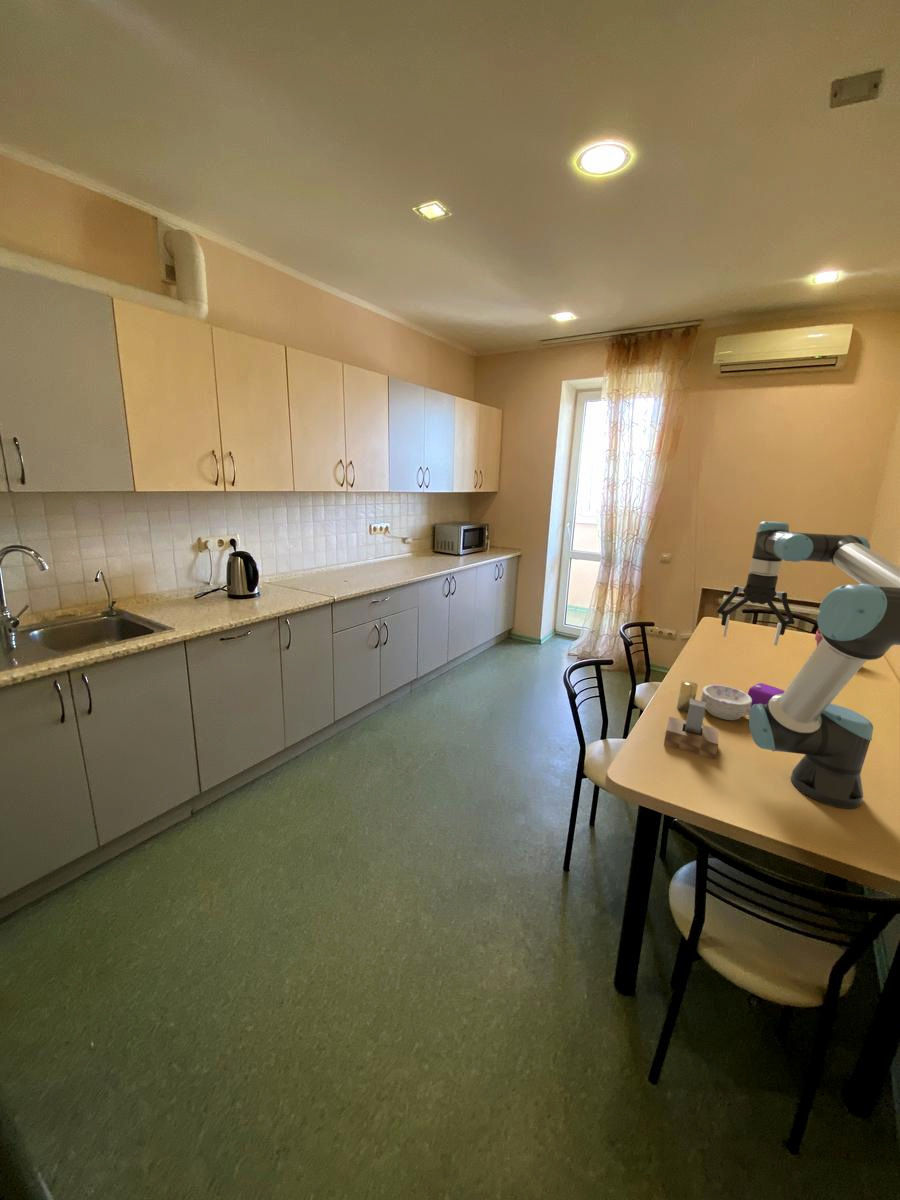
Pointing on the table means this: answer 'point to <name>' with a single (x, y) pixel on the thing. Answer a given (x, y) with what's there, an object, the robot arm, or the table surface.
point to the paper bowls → (726, 702)
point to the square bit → (695, 716)
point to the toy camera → (763, 693)
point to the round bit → (686, 695)
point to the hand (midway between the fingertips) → (749, 639)
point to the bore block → (691, 738)
